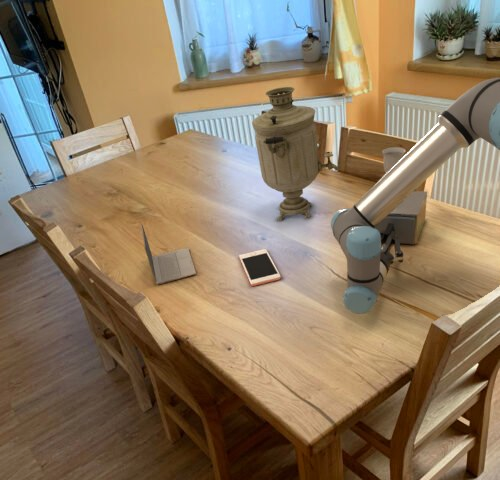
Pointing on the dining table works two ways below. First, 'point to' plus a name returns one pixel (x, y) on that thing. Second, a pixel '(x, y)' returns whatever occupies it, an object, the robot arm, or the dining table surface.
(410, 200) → the cabinet
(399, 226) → the drawer
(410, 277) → the dining table surface
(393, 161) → the chalice
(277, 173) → the samovar
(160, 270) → the laptop
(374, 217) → the robot arm
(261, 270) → the cell phone
